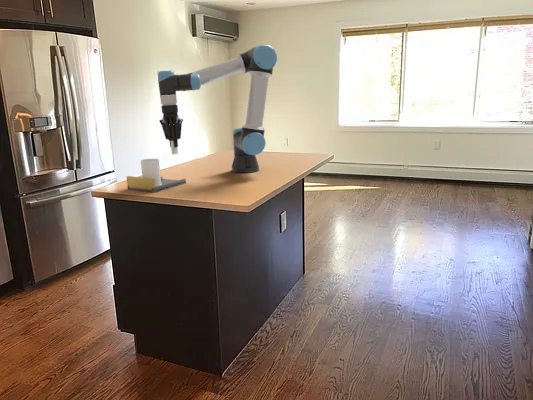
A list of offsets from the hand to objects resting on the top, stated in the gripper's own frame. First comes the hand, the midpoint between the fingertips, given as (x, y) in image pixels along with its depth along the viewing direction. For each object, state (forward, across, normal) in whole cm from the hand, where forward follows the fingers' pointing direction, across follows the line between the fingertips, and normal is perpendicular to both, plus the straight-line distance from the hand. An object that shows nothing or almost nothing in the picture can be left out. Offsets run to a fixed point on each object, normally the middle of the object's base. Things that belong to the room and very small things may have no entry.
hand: (174, 153), depth 211 cm
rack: (+13, +1, +14) cm, 19 cm away
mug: (+12, +2, +16) cm, 20 cm away
